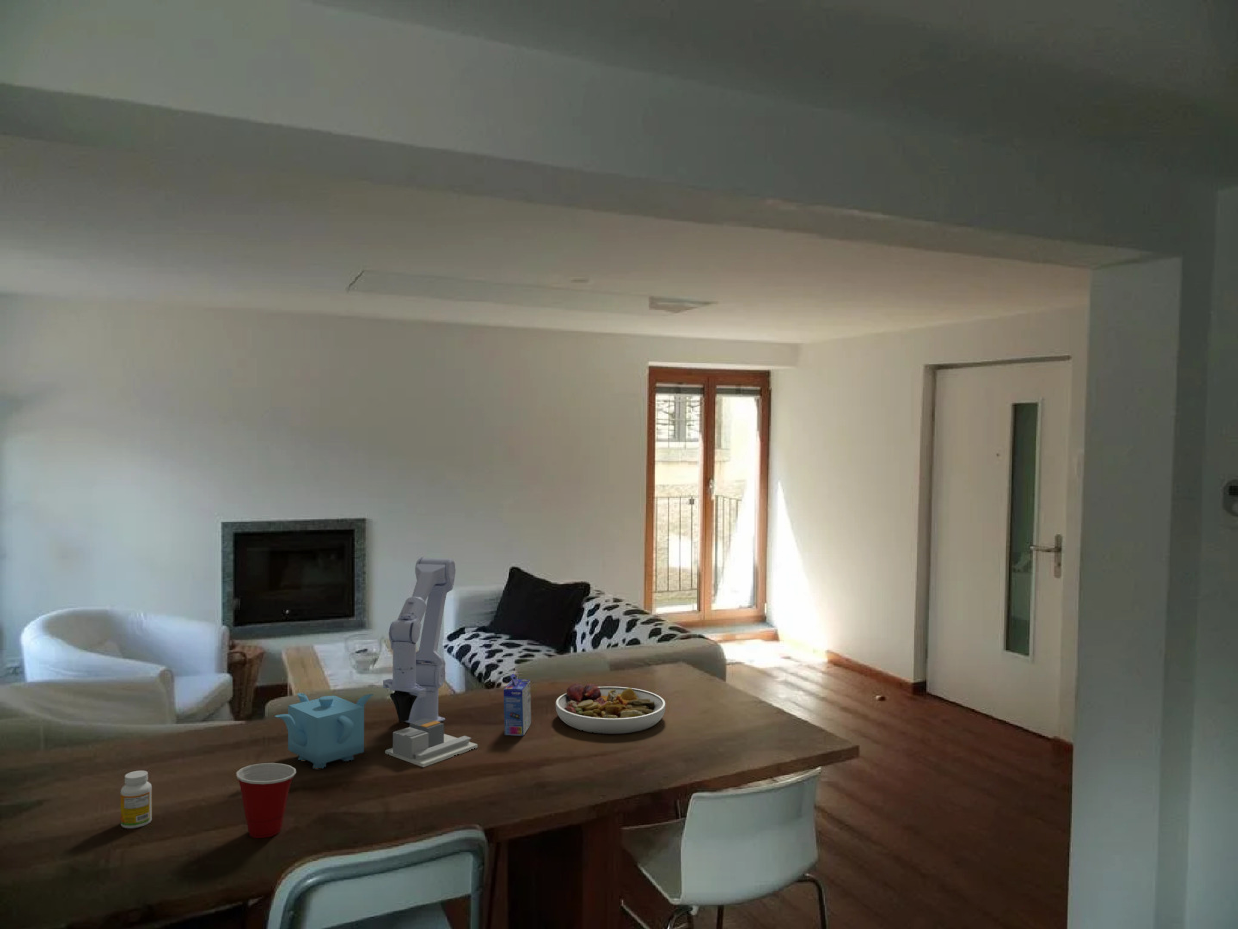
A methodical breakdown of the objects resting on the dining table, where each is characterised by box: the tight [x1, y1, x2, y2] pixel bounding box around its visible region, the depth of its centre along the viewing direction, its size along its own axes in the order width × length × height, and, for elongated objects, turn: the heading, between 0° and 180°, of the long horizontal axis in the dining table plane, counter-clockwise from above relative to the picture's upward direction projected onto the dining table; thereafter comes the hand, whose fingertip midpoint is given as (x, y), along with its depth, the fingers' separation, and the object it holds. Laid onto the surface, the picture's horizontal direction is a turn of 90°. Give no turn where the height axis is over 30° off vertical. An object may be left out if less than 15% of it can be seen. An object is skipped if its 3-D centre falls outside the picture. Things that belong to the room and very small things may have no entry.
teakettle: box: [274, 692, 374, 769], centre depth 210 cm, size 19×19×15 cm
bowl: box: [555, 683, 666, 735], centre depth 242 cm, size 30×30×8 cm
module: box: [409, 718, 445, 748], centre depth 219 cm, size 7×5×5 cm
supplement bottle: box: [120, 770, 153, 829], centre depth 174 cm, size 5×5×10 cm
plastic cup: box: [236, 762, 297, 839], centre depth 171 cm, size 11×11×12 cm
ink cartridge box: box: [503, 673, 532, 737], centre depth 232 cm, size 10×6×14 cm, turn 174°
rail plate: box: [384, 727, 478, 768], centre depth 216 cm, size 14×17×6 cm
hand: (403, 720), depth 224 cm, fingers closed
